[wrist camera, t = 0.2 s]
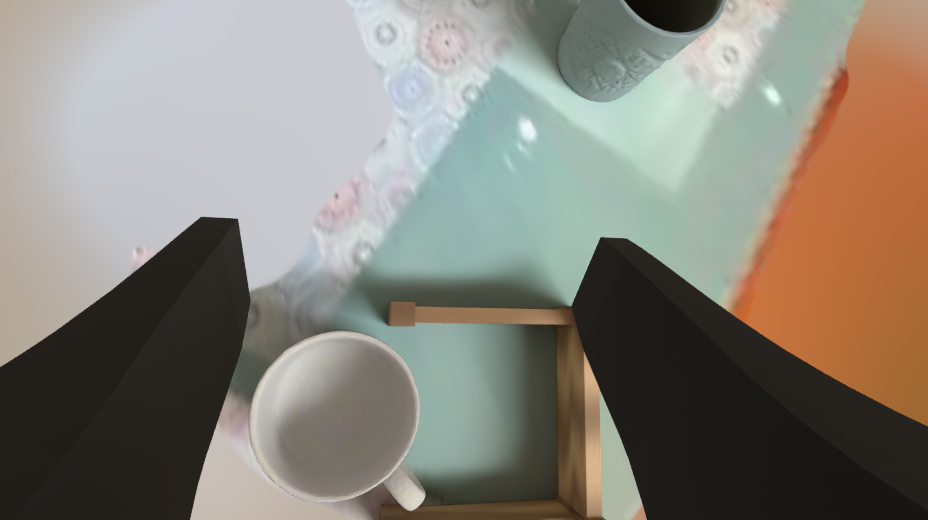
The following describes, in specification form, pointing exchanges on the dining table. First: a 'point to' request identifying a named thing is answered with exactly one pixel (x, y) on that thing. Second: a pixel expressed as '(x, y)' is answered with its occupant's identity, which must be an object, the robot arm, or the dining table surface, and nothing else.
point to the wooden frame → (579, 455)
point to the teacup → (337, 419)
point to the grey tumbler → (628, 41)
